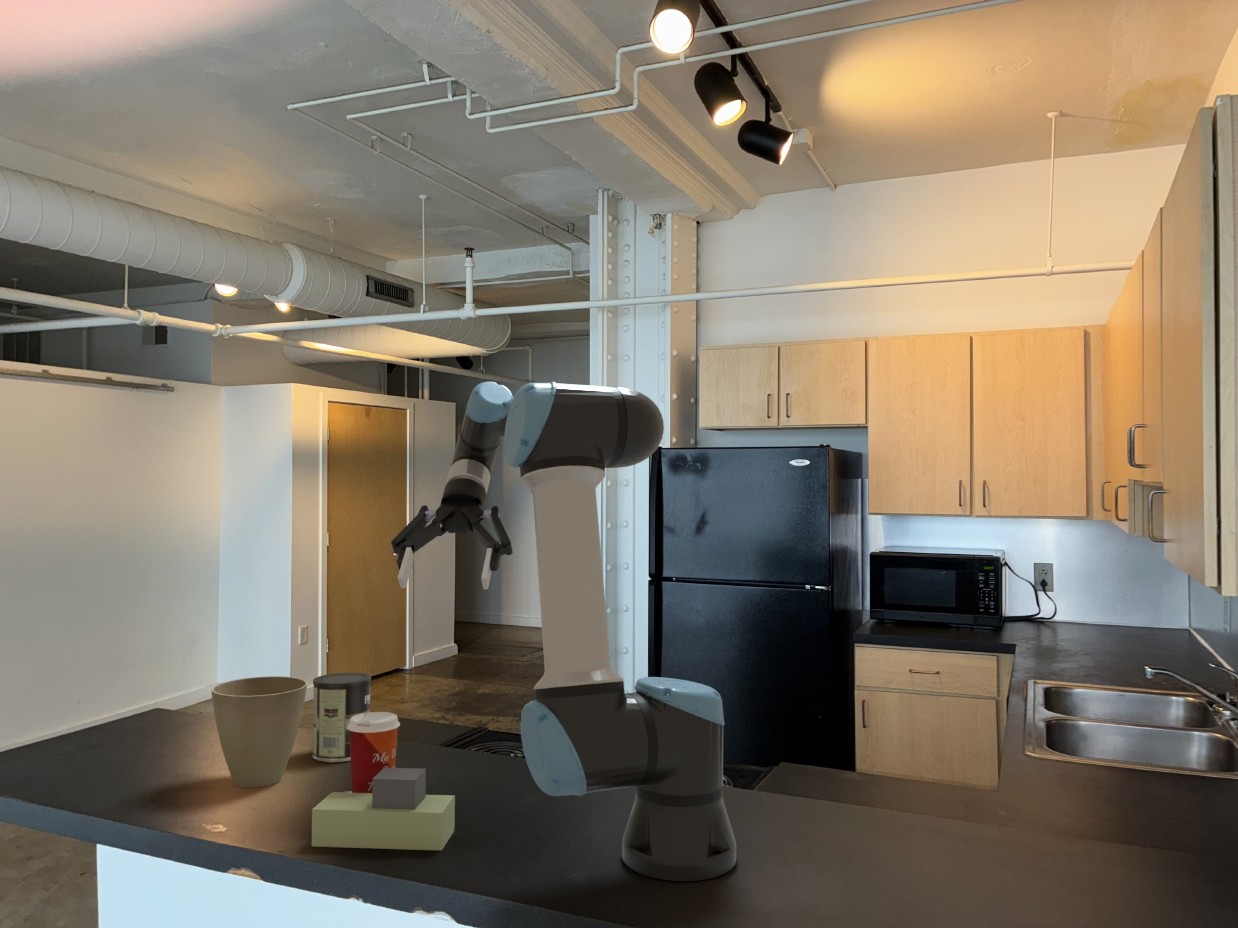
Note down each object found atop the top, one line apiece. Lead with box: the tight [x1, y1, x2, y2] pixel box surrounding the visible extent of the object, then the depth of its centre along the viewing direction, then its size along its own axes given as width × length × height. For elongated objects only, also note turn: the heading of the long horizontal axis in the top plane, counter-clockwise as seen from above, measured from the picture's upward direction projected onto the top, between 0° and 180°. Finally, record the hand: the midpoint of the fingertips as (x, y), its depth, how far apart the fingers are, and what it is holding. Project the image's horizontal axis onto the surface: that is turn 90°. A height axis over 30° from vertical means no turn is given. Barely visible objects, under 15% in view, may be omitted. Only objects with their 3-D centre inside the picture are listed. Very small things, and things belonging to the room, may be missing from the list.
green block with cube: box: [311, 767, 456, 851], centre depth 129 cm, size 20×17×9 cm
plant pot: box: [211, 675, 308, 789], centre depth 148 cm, size 15×15×16 cm
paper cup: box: [347, 711, 401, 793], centre depth 133 cm, size 8×8×14 cm
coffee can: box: [312, 672, 372, 763], centre depth 163 cm, size 10×10×14 cm
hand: (442, 583), depth 143 cm, fingers open, 13 cm apart
